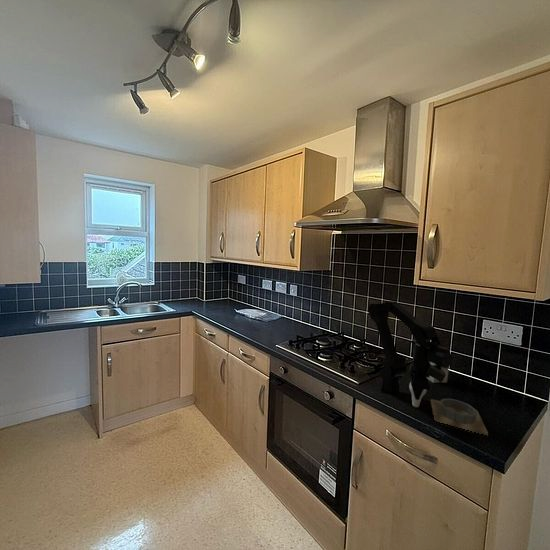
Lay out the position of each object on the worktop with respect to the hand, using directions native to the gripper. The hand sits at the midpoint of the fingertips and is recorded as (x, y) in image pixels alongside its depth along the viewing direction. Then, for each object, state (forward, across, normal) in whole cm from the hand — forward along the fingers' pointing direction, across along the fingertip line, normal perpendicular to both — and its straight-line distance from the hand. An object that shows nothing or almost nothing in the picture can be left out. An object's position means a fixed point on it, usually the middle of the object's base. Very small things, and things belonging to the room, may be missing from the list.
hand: (416, 396), depth 116 cm
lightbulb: (+5, 0, 0) cm, 5 cm away
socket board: (+4, 0, -14) cm, 15 cm away
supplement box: (+5, +34, -10) cm, 36 cm away
